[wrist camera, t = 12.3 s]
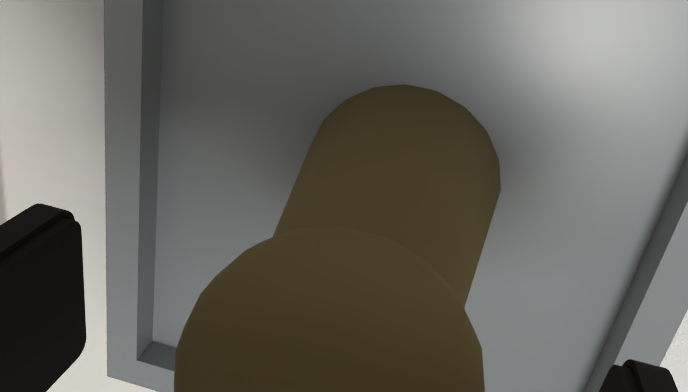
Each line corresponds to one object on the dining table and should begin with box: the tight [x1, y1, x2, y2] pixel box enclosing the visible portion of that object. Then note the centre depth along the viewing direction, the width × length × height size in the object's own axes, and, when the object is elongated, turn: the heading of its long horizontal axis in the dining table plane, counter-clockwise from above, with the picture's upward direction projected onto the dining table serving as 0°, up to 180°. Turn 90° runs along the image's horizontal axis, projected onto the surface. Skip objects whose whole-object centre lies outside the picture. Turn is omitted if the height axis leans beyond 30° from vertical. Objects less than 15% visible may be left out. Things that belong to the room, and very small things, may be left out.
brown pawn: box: [174, 84, 501, 392], centre depth 14 cm, size 6×6×11 cm
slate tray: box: [104, 0, 688, 392], centre depth 18 cm, size 20×18×2 cm
